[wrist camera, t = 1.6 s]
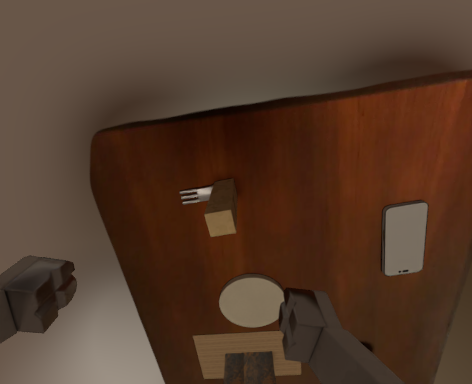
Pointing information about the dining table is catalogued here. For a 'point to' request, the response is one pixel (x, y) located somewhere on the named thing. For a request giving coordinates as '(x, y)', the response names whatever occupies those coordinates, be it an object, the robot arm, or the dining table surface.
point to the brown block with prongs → (217, 205)
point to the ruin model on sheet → (244, 357)
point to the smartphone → (404, 237)
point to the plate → (251, 300)
